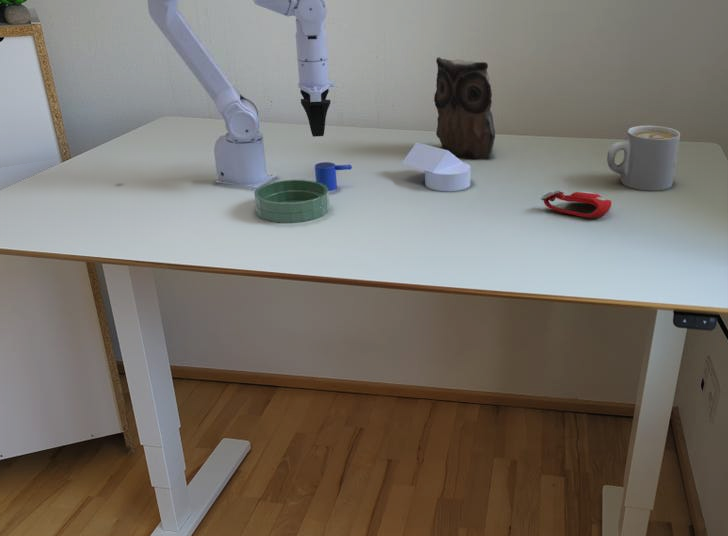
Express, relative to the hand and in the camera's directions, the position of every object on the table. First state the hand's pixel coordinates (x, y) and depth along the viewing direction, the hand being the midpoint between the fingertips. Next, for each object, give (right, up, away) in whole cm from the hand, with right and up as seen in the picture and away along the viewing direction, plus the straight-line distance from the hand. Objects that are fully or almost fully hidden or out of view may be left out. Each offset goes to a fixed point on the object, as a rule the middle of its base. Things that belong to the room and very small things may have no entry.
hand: (317, 130), depth 158 cm
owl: (+32, +1, +20) cm, 37 cm away
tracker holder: (+49, -18, -12) cm, 54 cm away
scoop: (+4, -12, -2) cm, 13 cm away
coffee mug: (+64, -10, +1) cm, 65 cm away
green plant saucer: (-3, -19, -13) cm, 23 cm away
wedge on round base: (+24, -10, +2) cm, 27 cm away
